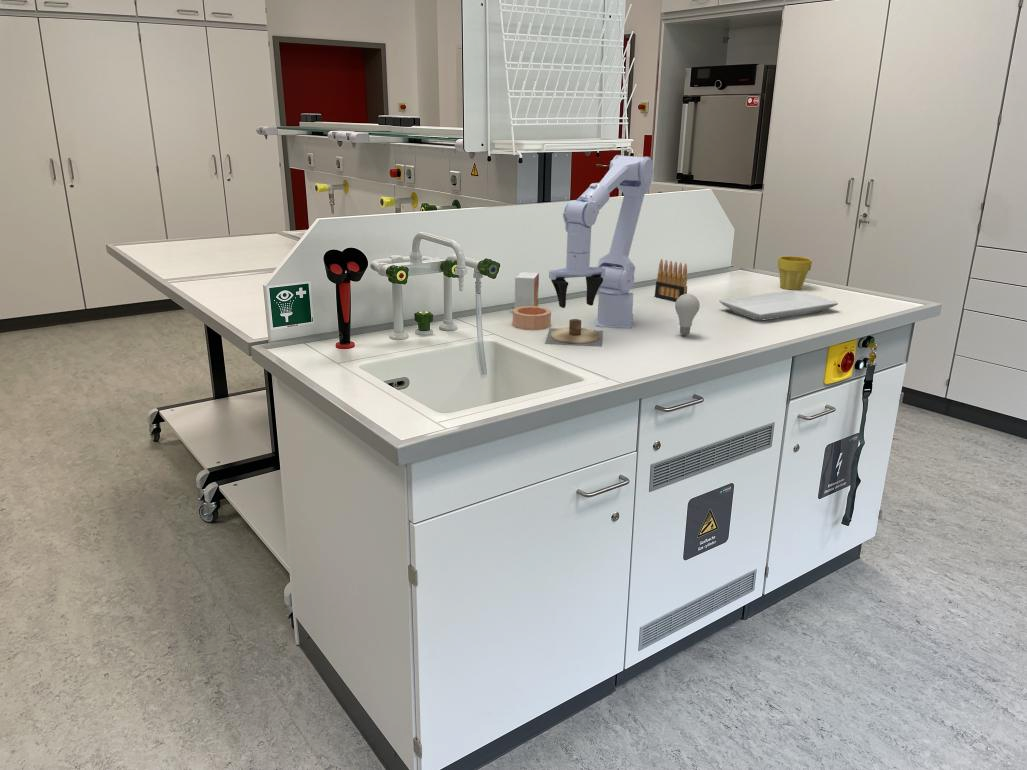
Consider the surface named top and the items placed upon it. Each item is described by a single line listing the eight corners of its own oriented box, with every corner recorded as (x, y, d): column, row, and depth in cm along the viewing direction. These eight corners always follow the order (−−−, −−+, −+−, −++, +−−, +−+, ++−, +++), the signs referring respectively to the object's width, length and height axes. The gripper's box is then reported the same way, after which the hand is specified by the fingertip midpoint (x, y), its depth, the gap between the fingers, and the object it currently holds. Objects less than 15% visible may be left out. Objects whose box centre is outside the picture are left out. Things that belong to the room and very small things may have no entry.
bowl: (551, 321, 208) (552, 307, 206) (548, 331, 198) (549, 316, 197) (515, 319, 209) (515, 305, 207) (510, 329, 199) (511, 314, 198)
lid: (598, 331, 198) (599, 315, 196) (598, 345, 187) (599, 328, 185) (552, 329, 199) (553, 313, 197) (549, 342, 188) (549, 326, 186)
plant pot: (812, 287, 251) (816, 258, 248) (801, 293, 244) (806, 262, 240) (781, 283, 257) (785, 254, 254) (770, 288, 250) (773, 258, 246)
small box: (533, 315, 214) (534, 278, 210) (514, 313, 215) (514, 277, 211) (538, 308, 221) (539, 272, 217) (519, 307, 222) (520, 271, 218)
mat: (602, 331, 199) (602, 330, 198) (602, 347, 186) (602, 346, 185) (549, 329, 200) (549, 328, 200) (544, 344, 187) (544, 343, 187)
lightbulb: (682, 340, 192) (686, 297, 189) (667, 334, 197) (671, 292, 194) (701, 337, 195) (705, 295, 191) (686, 331, 200) (690, 290, 196)
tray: (838, 313, 222) (840, 301, 220) (758, 325, 208) (759, 313, 207) (794, 300, 236) (795, 289, 234) (716, 311, 222) (717, 299, 221)
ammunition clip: (686, 302, 230) (690, 263, 226) (682, 303, 228) (686, 264, 224) (657, 296, 237) (660, 258, 233) (654, 297, 236) (657, 258, 232)
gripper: (597, 247, 191) (594, 300, 196) (544, 250, 186) (543, 304, 191) (610, 252, 185) (607, 306, 190) (556, 255, 180) (554, 311, 185)
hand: (576, 305), depth 190 cm, fingers open, 7 cm apart
